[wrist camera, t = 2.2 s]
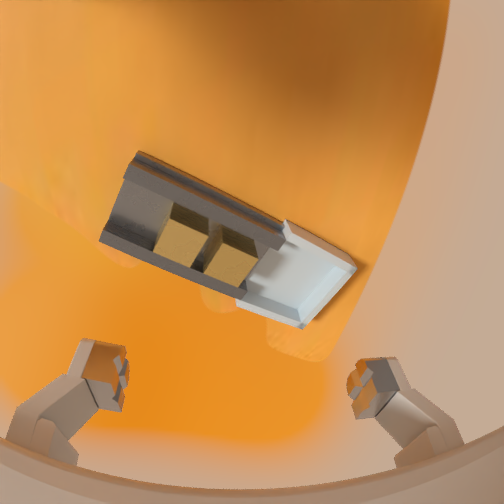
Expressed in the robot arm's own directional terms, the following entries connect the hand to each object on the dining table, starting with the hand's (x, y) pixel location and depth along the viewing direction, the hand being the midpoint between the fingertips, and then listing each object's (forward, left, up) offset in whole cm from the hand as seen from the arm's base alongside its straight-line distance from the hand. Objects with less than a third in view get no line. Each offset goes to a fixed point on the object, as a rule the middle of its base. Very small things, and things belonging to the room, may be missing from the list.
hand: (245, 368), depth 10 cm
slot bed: (+1, -8, -23) cm, 24 cm away
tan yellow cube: (0, -8, -22) cm, 23 cm away
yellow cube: (+5, -8, -22) cm, 24 cm away
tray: (+14, -8, -23) cm, 28 cm away
